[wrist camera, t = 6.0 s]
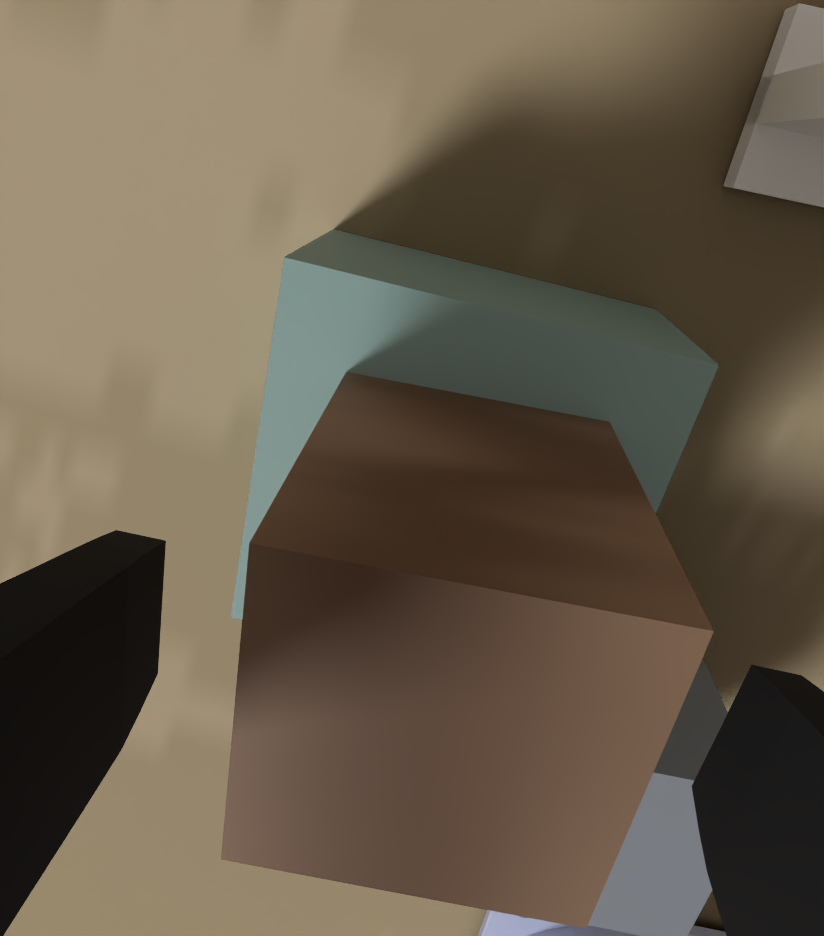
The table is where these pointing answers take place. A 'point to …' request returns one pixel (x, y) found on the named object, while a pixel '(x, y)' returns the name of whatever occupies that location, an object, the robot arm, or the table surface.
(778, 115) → the card
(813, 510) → the table surface
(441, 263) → the base block
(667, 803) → the grey block
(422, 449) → the walnut block
